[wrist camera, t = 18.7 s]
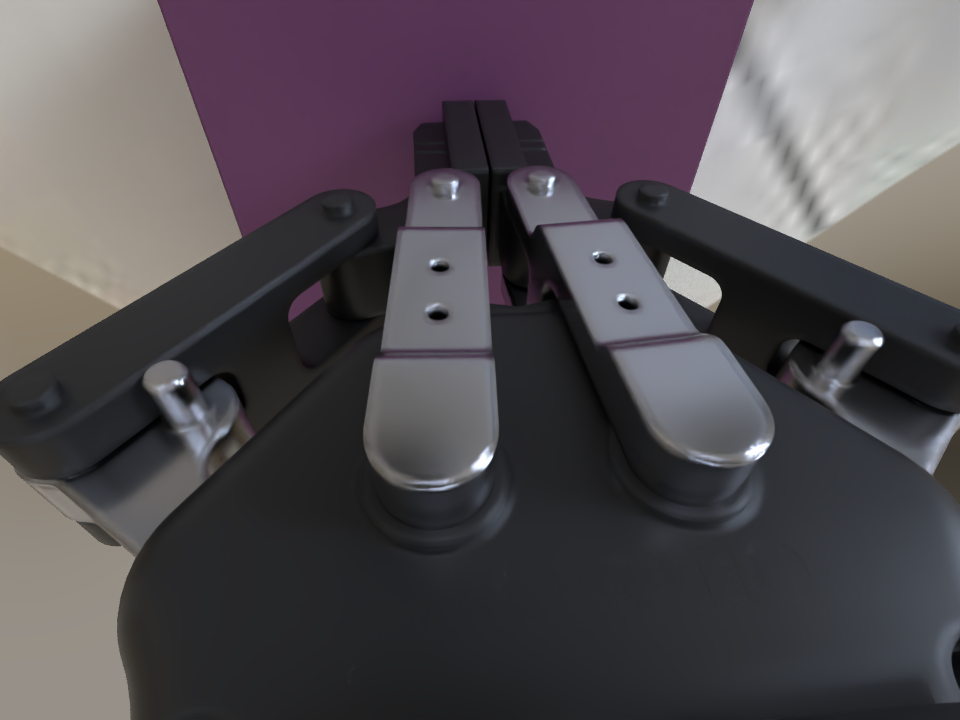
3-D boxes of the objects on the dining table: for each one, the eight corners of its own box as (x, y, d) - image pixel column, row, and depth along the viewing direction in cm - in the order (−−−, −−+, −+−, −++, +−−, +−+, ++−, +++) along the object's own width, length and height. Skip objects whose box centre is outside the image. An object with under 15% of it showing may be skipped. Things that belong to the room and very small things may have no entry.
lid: (147, -70, 10) (133, -62, 10) (757, -66, 11) (775, -59, 11) (312, 412, 22) (310, 428, 21) (613, 391, 23) (618, 406, 22)
